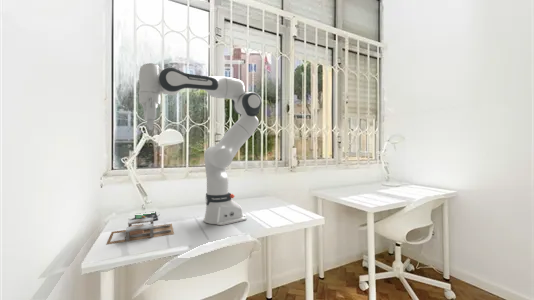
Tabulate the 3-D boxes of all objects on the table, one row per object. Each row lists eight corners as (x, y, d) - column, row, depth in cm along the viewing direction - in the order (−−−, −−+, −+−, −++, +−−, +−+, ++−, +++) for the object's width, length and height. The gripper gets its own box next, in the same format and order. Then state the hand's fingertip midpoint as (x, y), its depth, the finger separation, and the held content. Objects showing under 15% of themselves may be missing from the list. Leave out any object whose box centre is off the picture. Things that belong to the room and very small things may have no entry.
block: (143, 230, 105) (143, 224, 105) (143, 234, 100) (143, 227, 100) (130, 232, 103) (130, 225, 103) (129, 236, 98) (129, 229, 98)
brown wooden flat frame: (171, 226, 114) (171, 214, 114) (174, 237, 102) (174, 224, 101) (111, 235, 104) (111, 222, 103) (106, 248, 91) (105, 233, 91)
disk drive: (158, 224, 119) (155, 215, 132) (158, 218, 119) (155, 210, 132) (135, 228, 114) (134, 218, 126) (135, 222, 114) (134, 213, 126)
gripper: (159, 97, 101) (159, 129, 101) (155, 103, 119) (155, 131, 119) (143, 95, 98) (143, 129, 98) (141, 102, 116) (141, 130, 116)
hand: (150, 130), depth 109 cm, fingers open, 8 cm apart
